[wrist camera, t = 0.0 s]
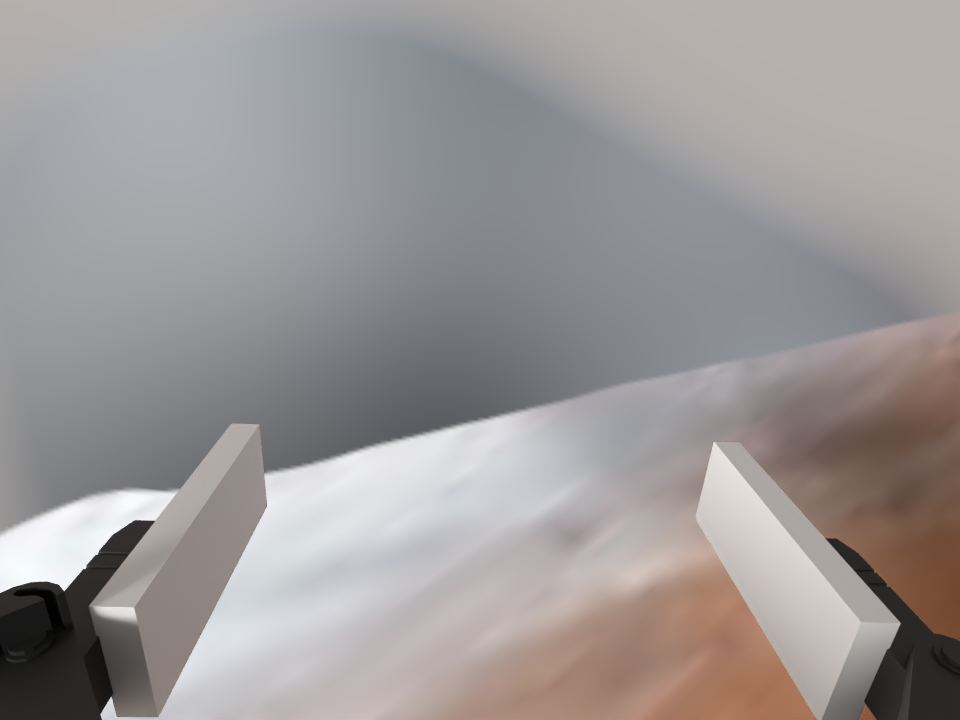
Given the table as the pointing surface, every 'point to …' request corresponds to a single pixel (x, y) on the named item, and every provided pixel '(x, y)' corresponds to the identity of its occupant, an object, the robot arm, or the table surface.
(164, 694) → the robot arm
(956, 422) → the table surface
